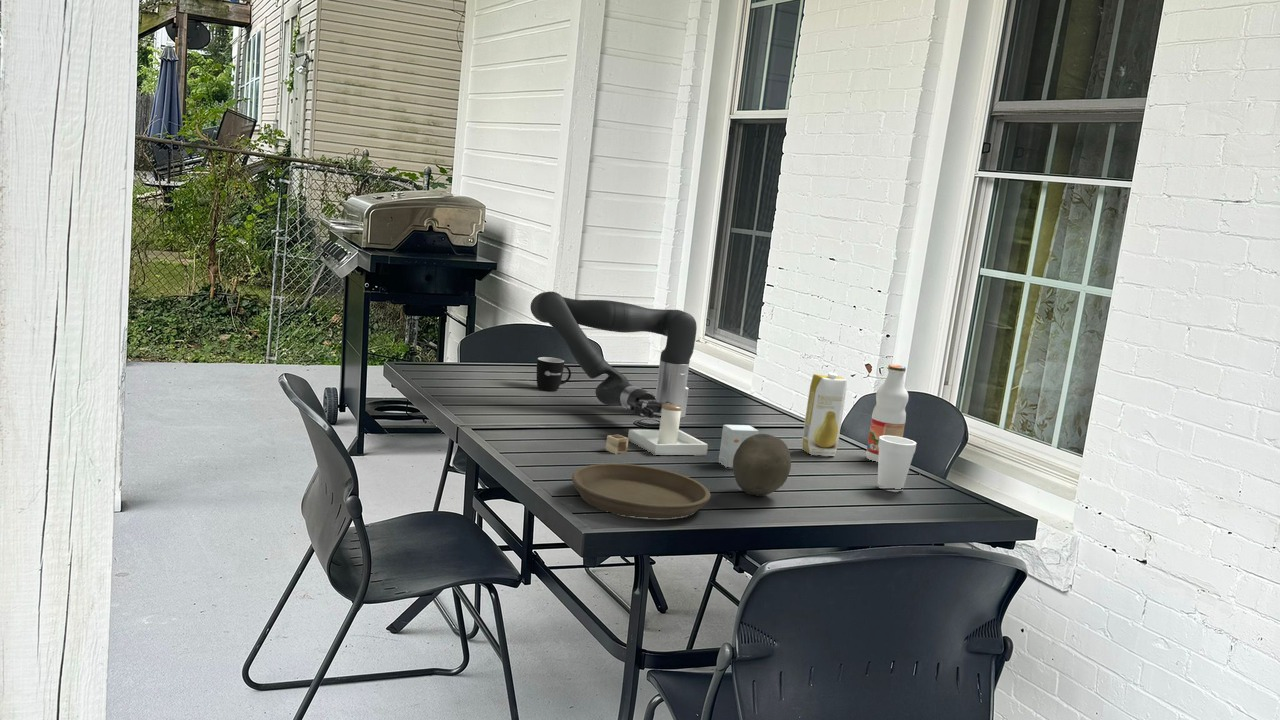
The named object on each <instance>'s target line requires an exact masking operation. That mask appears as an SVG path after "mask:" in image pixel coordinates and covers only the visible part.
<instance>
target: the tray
mask: <svg viewBox="0 0 1280 720" xmlns="http://www.w3.org/2000/svg"><path fill="white" fill-rule="evenodd" d="M627 435H628V436H627V438H629V439H628V442H630V443H632V444H633V443H634V444H633V445H635V444H636V445H635V446H637V445H638V446H637V447H639V448H640V447H641V448H640V449H642V448H643V449H642V450H644V449H645V450H647V451H648V452H647V451H646V452H647V453H649V452H651V453H652V454H654V455H694V456H707V455H708V454H707V453H708V446H709V444H708V443H706V442H704V441H701V440H700V439H698V438H696V437H694V436H692V435H691V434H689V433H687V432H684V431H683V430H681V429H679V430H678V438H677V444H658V437H659V429H628V434H627ZM645 450H644V451H645ZM651 453H650V454H651ZM652 454H651V455H652ZM654 455H653V456H654Z"/></svg>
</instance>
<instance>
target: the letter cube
mask: <svg viewBox="0 0 1280 720" xmlns="http://www.w3.org/2000/svg"><path fill="white" fill-rule="evenodd" d="M628 439H629V438H628V437H626V436H623V435H622V434H621V435H620V434H612V435H611V434H609V435H607V437H606V444H605V451H606V452H610V453H612V454H614V453H615V455H618V454H617V453H621V454H627V453H628V446H629V441H628ZM626 452H627V453H626Z"/></svg>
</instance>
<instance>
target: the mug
mask: <svg viewBox="0 0 1280 720" xmlns="http://www.w3.org/2000/svg"><path fill="white" fill-rule="evenodd" d="M564 368H565V369H567V371H568V376H567V378H566V379H565V380H563V381H562V378H563V373H564ZM571 371H572V370H571V369H570V367H569V366H568V365H566V364H565V360H563V359H561V358H557V357H551V356H550V357H547V356H542V357H538V358H537V359H536V385H537V388H538V390H540V391H543V392H558V390H559V388H560V386H561V385H564V384H566V383H567V382H569V381H570V379H571V377H572V372H571Z"/></svg>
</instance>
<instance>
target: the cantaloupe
mask: <svg viewBox="0 0 1280 720" xmlns="http://www.w3.org/2000/svg"><path fill="white" fill-rule="evenodd" d="M791 457H792V456H791V453H790V449H789V448H788V446H787V444H786V443H785V442H784V441H783V440H782V439H781V438H779V437H777V436H774V435H771V434H768V433H758V434H756V435H753V436H750V437H748V438H747V439H745V440H744V441H743V442H742V443H741V445H740V446H739V448H738V449H737V451H736V453H735V455H734V459H733V468H732V472H733V476H734V479H735V482H736V484H737V486H738V487H739V488H740V489H741V490H742V491H743V492H745V493H746V494H747V493H748V494H747V495H750V494H751V495H750V496H753V495H758V496H757V497H764V495H765V496H768V495H770V494H772V493H774V492H775V491H778V490H779V489H780V488H781V487H782V486H783V485H784V484H785V483H786V481H787V479H788V477H789V476H790V472H791V469H792V459H791Z"/></svg>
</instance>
